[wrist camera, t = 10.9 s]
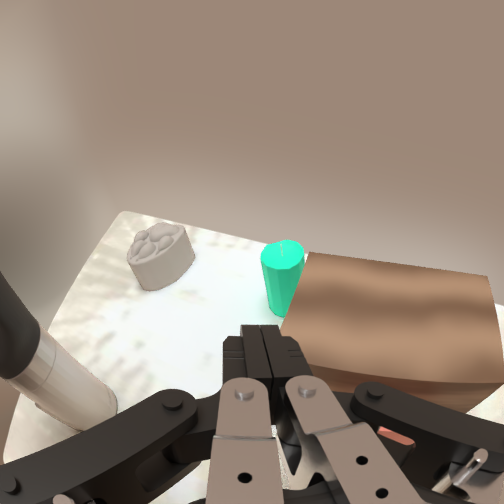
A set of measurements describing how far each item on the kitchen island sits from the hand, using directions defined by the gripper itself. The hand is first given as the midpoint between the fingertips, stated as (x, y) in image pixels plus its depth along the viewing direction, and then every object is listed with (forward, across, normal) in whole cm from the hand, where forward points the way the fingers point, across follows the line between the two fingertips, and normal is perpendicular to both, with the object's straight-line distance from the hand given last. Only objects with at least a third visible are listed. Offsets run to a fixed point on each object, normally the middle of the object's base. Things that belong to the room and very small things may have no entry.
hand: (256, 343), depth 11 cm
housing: (+14, -17, +16) cm, 27 cm away
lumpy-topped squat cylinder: (+45, +14, +10) cm, 48 cm away
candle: (+30, -9, +11) cm, 33 cm away
